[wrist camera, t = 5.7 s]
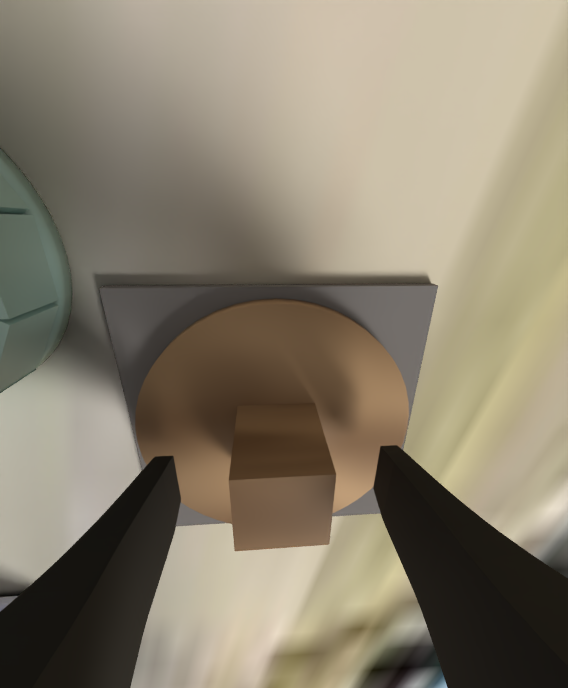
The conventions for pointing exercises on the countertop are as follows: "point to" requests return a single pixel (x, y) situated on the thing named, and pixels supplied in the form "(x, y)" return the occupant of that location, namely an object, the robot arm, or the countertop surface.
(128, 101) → the countertop surface
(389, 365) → the lid
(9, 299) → the bowl
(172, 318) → the mat
